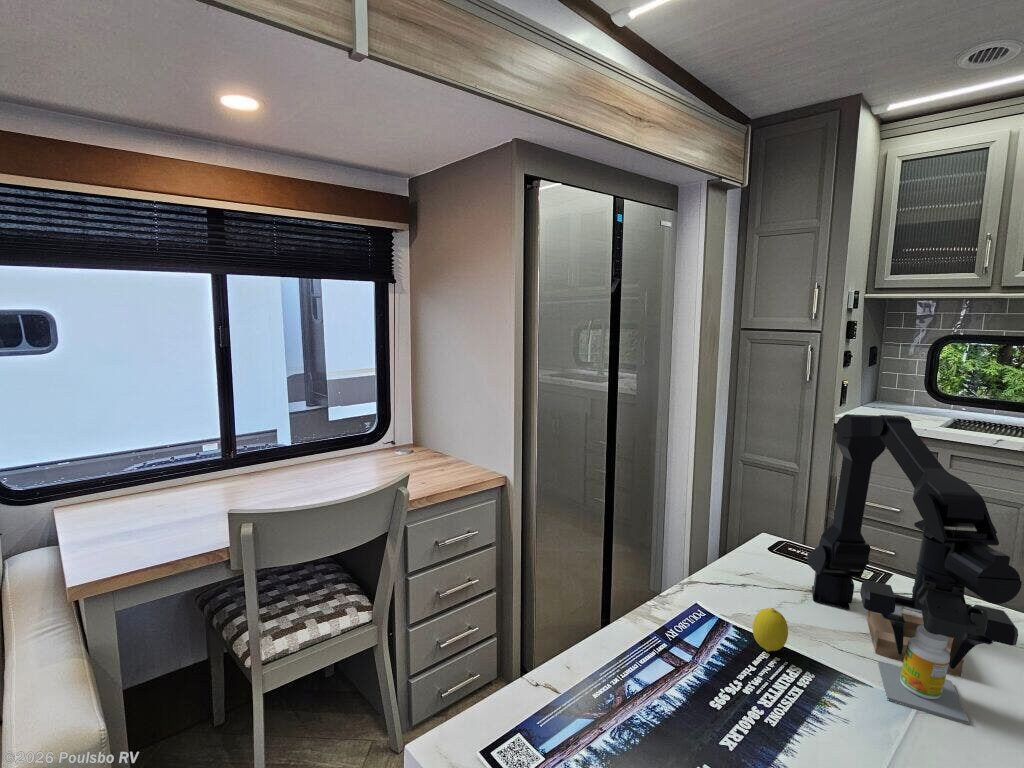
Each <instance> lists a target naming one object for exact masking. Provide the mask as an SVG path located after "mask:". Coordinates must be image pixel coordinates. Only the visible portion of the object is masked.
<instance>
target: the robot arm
mask: <svg viewBox="0 0 1024 768" xmlns="http://www.w3.org/2000/svg"><path fill="white" fill-rule="evenodd" d="M835 435H836V436H835V442H836V443H835V444H837V447H838V449H839V451H840V453H841V456H842V461H841V462H842V463H841V467H840V468H841V469H840V475H839V481H838V485H837V486H838V487H837V494H836V498H835V504H834V512H833V519H832V524H831V525H830V526H829V527H827V529H826V530H825V531H824V532H823V533H821V536H820V539H819V542H818V546H817V547H816V548H814V549H813V550H812V551H810V552H809V553H807V564H808V566H809V568H811V569H812V570H813V571H814V581H813V585H812V586H811V592H812V593H811V595H812V601H814V602H815V603H819V604H822V605H823V604H824V605H828V606H830V607H831V606H833V607H836V608H840V609H843V610H848V611H849V610H850V609H851V607H850V605H851V604H852V603H853V599H854V598H853V597H854V591H855V583H854V579H853V577H854V578H862V576H863V574H864V571H865V569H866V568H867V566H868V565H869V563H870V560H869V557H870V552H871V549H872V548H871V546H870V544H868V543H867V542H866V540H865V538H864V536H863V534H862V528H863V522H864V517H865V510H866V504H867V499H868V498H867V497H868V491H869V485H870V480H871V474H872V467H873V463H874V462H875V461H876V460H877V459H878V458H879V457H880V456H881V455H882V454H883V453H884V452H885V451H886V448H887V450H888V451H889V453H890V454H891V456H892V457H893V458H894V460H895V461H896V463H897V464H898V467H900V469H901V470H902V471H903V473H904V474H905V475H906V477H907V478H908V480H909V481H910V483H911V485H912V487H913V495H912V502H913V503H914V505H915V506H916V508H917V511H918V513H919V515H920V516H921V518H922V519H920V520H918V521H916V522H914V523H913V525H914V527H915V528H916V529H918V530H920V531H921V532H922V536H921V541H920V548H919V553H918V558H917V559H918V560H917V561H916V565H915V566H916V567H915V568H916V570H915V578H914V584H913V585H912V589H911V592H912V593H911V594H912V596H911V597H909V596H904V595H901V594H897V593H895V592H894V591H893V587H892V585H891V584H886V583H882V582H878V581H874V580H869V579H866V580H864V581H863V582H862V583H861V585H860V592H859V593H860V598H861V603H862V607H863V609H865V610H867V612H868V611H872V612H876V613H880V614H881V616H882V617H883V618H885V619H887V620H890V622H891V625H892V629H893V633H894V638H895V642H896V647H897V651H898V654H899V655H902V650H903V637H904V636H903V631H904V629H903V628H904V624H905V620H904V617H903V614H904V613H903V612H904V610H906V611H910V612H911V611H912V612H914V613H919V614H921V615H922V618H923V622H924V628H925V629H926V630H927V631H928V632H929V633H931V634H935V635H943V636H947V637H951V638H953V642H952V647H951V651H950V662H949V666H950V668H951V669H954V668H955V667H956V666H957V665H958V664H959V662H960V661H961V660H962V659H963V660H964V658H965V657H966V656H967V654H968V653H969V652H970V651H971V650H972V649H974V648H975V647H976V646H979V645H992V644H993V642H995V643H998V644H1003V645H1006V646H1010V647H1011V646H1012V647H1013V646H1017V644H1018V638H1019V631H1018V630H1019V629H1018V628H1017V626H1016V625H1015V624H1014V622H1013V621H1012V619H1011V618H1010V617H1009V615H1008V614H1007V613H1006V612H1005V610H1002V609H1000V608H999V609H998V608H993V607H989V606H985V605H980V604H974V605H973V606H972V604H970V603H967V602H966V599H965V588H966V589H967V590H968V591H971V593H973V594H975V595H976V596H978V597H979V598H980V599H982V600H983V601H985V602H986V603H990V604H993V605H1002V604H1006V603H1007V602H1010V601H1012V600H1013V599H1014V598H1016V597H1017V595H1018V594H1019V592H1020V591H1021V588H1022V585H1023V584H1022V580H1021V577H1020V573H1019V572H1018V571H1017V570H1016V568H1015V567H1013V566H1011V565H1010V560H1011V557H1010V555H1008V554H1006V553H1004V552H1002V551H998V550H996V549H994V548H992V547H994V546H996V547H998V546H999V544H1000V542H999V538H998V536H997V534H998V532H997V530H996V528H995V525H994V524H993V522H992V519H991V516H990V514H989V510H988V508H987V504H986V501H985V499H984V497H983V496H981V494H980V493H979V492H978V491H977V490H976V489H975V488H973V487H972V486H971V485H970V484H969V483H968V482H967V481H965V480H964V479H962V478H959V477H957V476H955V475H953V474H952V473H949V472H948V470H946V469H945V468H944V466H942V464H941V463H940V462H939V460H938V459H937V458H936V456H935V455H934V454H933V453H932V451H931V450H930V449H929V447H928V446H927V445H926V443H924V441H923V440H922V439H921V437H920V436H919V435H918V433H917V432H916V431H915V430H914V428H913V426H912V421H911V420H910V419H909V418H908V417H905V416H903V415H890V414H879V415H870V414H848V413H845V414H844V415H843V416H842V417H840V418H839V419H838V420H837V421H836V424H835ZM952 528H961V529H952ZM974 528H975V530H967V529H974ZM962 529H966V530H962ZM991 546H992V547H991ZM902 613H903V614H902Z"/></svg>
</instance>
